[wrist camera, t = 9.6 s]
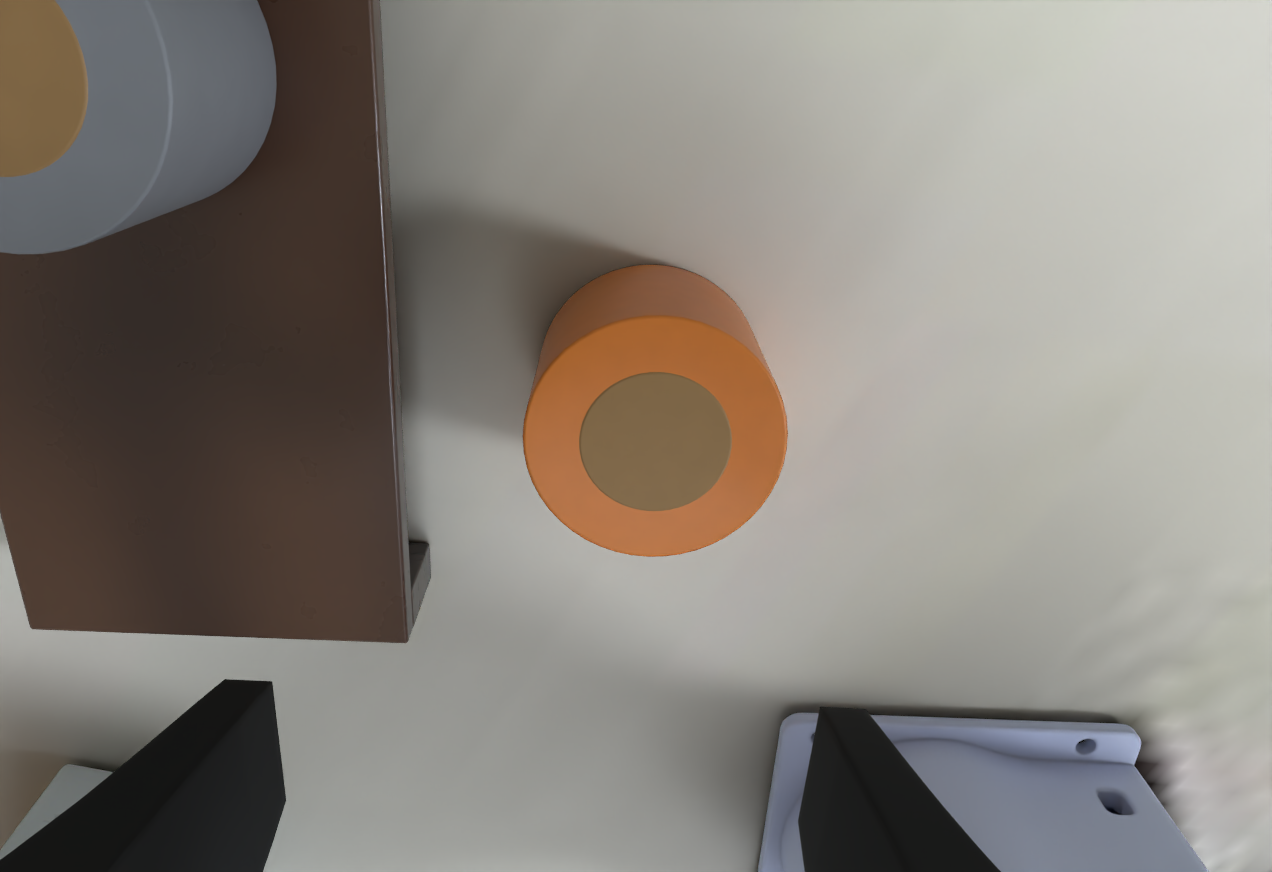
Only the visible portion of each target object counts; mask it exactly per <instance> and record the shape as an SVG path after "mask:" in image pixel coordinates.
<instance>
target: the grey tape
mask: <svg viewBox="0 0 1272 872" xmlns="http://www.w3.org/2000/svg"><path fill="white" fill-rule="evenodd" d="M276 88H277V82H276V63H275V57H274V51H273V44H272V41H271V37H270V34H269V30H268V27H267V23H266V21H265V18H264V16H263V13H262V11H261V8H260V6H259V3H258V1H257V0H0V252H2V253H11V254H46V253H53V252H59V251H65V250H69V249H72V248H75V247H79V246H82V245H85V244H88V243H90V242H93V241H96V240H98V239H101V238H103V237H106V236H109V235H111V234H114V233H116V232H119V231H122V230H124V229H127V228H129V227H132V226H135V225H137V224H140V223H142V222H145V221H148V220H150V219H153V218H155V217H158V216H161V215H163V214H166V213H168V212H171V211H174V210H176V209H179V208H181V207H184V206H187V205H189V204H192V203H194V202H197V201H200V200H202V199H204V198H206V197H209V196H211V195H213V194H215V193H217V192H219V191H220V190H222V189H223V188H225V187H226V186H228V185H229V184H231V183H232V182H233V181H234V180H235V179H236V178H237V177H239V176H240V175H241V174H242V173H243V172H244V171H245V170H246V168H247V167H248V166H249V165H250V163H251V162H252V161H253V159H254V158H255V157H256V155H257V153H258V152H259V150H260V148H261V146H262V144H263V143H264V141H265V138H266V135H267V133H268V130H269V127H270V125H271V121H272V116H273V112H274V108H275V99H276Z"/></svg>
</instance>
